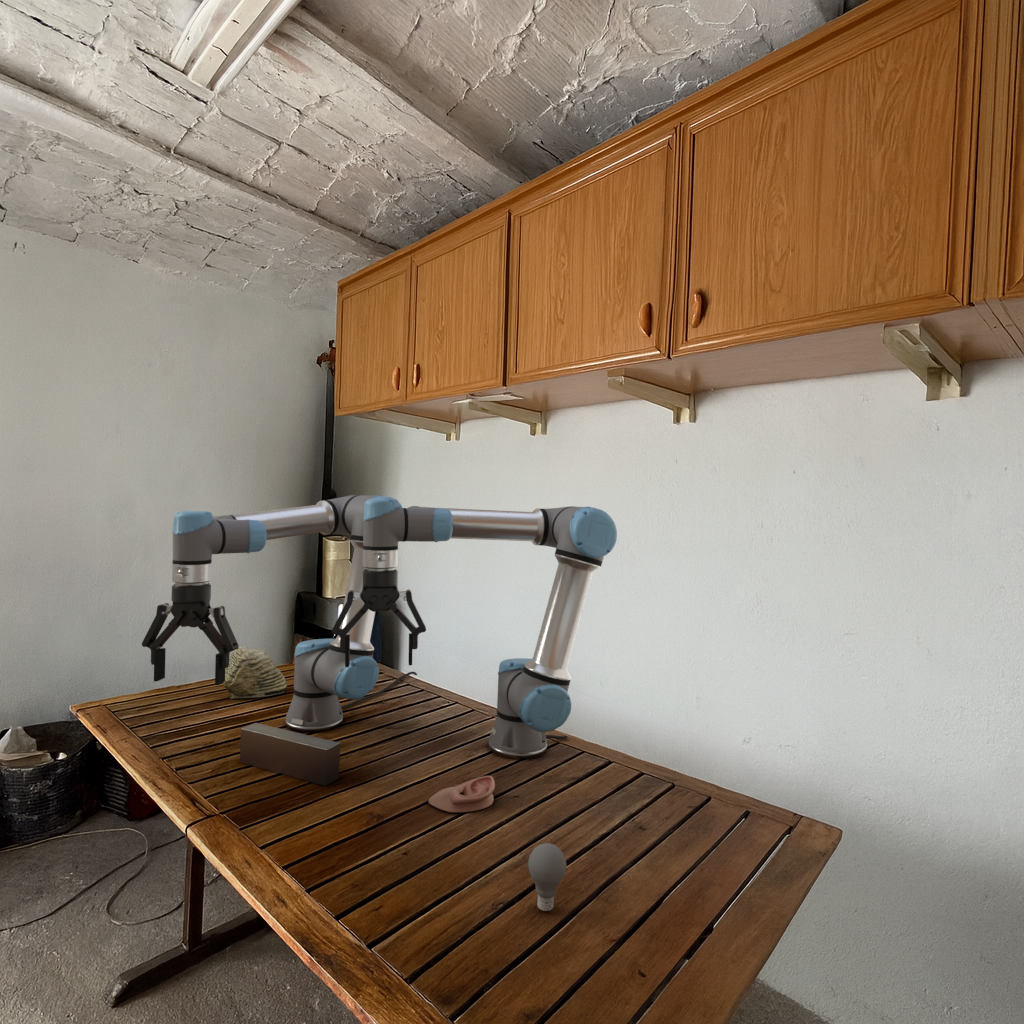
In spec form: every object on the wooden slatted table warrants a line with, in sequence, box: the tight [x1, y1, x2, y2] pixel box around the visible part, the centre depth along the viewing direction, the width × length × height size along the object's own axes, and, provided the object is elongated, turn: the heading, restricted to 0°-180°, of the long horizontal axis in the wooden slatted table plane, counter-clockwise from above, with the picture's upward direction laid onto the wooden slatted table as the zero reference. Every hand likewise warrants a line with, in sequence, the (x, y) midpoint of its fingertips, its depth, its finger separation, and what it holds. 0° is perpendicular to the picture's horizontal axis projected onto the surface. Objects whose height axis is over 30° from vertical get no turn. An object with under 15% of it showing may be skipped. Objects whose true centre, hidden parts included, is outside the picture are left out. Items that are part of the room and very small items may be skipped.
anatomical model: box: [427, 775, 496, 813], centre depth 134 cm, size 13×4×12 cm
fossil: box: [222, 646, 288, 699], centre depth 198 cm, size 9×18×15 cm, turn 132°
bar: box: [239, 722, 341, 787], centre depth 146 cm, size 25×5×8 cm, turn 66°
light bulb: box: [527, 842, 567, 912], centre depth 100 cm, size 6×6×10 cm
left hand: (189, 681), depth 136 cm, fingers open, 13 cm apart
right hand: (379, 664), depth 140 cm, fingers open, 13 cm apart
